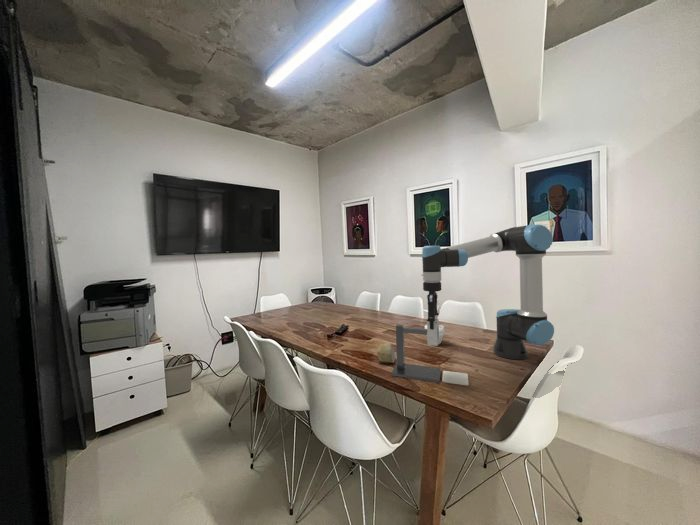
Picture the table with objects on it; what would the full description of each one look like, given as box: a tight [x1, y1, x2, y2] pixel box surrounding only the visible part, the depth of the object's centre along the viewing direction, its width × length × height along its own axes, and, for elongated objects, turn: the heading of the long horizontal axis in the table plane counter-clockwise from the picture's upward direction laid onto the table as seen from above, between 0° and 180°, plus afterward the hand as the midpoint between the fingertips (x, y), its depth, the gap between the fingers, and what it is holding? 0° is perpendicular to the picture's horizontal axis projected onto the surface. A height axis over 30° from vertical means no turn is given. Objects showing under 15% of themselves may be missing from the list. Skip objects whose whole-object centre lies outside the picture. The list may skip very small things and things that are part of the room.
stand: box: [391, 323, 442, 383], centre depth 120 cm, size 20×12×21 cm, turn 68°
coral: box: [376, 342, 396, 364], centre depth 135 cm, size 10×10×10 cm
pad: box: [441, 370, 469, 386], centre depth 115 cm, size 10×10×1 cm
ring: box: [426, 318, 440, 347], centre depth 118 cm, size 4×9×9 cm, turn 158°
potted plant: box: [421, 301, 446, 345], centre depth 160 cm, size 13×12×25 cm
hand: (433, 333), depth 118 cm, fingers closed on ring, 9 cm apart
